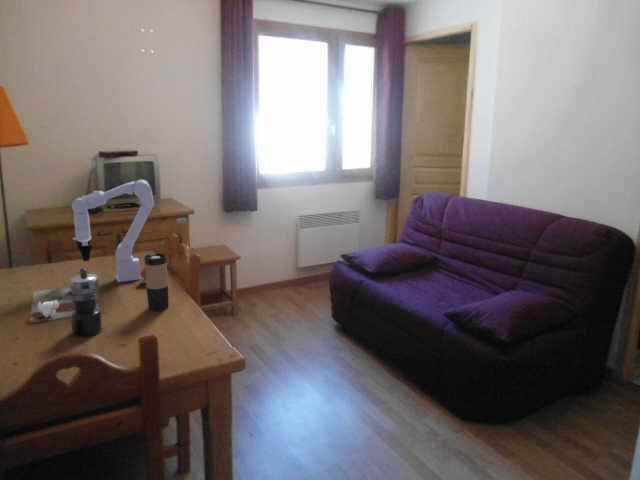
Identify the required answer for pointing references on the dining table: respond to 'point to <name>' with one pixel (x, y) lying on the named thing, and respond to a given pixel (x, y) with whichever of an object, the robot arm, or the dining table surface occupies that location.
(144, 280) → the red bell pepper
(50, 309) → the elephant figurine
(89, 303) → the ink bottle
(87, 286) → the pot
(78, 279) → the lid
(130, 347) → the dining table surface
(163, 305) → the travel mug
